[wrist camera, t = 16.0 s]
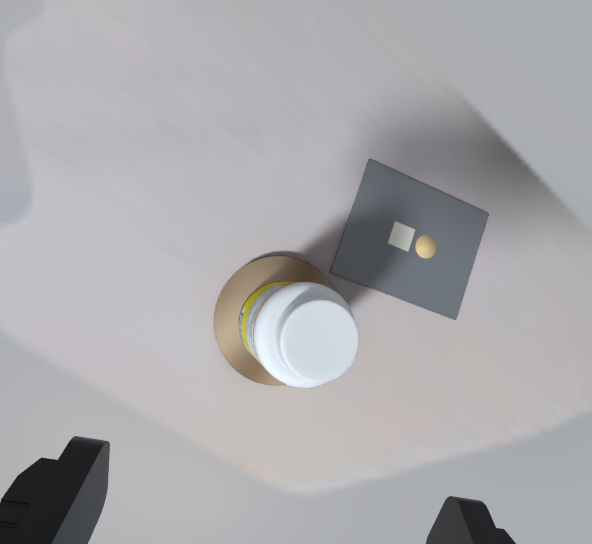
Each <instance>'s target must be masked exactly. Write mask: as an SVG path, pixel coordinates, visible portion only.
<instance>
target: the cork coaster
mask: <svg viewBox="0 0 592 544" xmlns="http://www.w3.org/2000/svg"><path fill="white" fill-rule="evenodd" d="M274 282H312V283H317V284H321V285H324V286H326V287H328V288H330V289H332V290H334V289H333V287H332V285H331V283H330V282H329V281H328V279H327V278H326V277H325V276H324V275H323V274H322V273H321V272H320V271H319V270H318V269H317V268H315V267H314V266H312V265H311V264H309V263H307V262H305V261H303V260H300V259H297V258H293V257H287V256H272V257H266V258H262V259H258V260H256V261H253V262H251V263H249V264H247V265H245V266H244V267H242V268H241V269H240V270H238V271H237V272H236V273H235V274H234V275H233V276H232V277H231V278H230V279H229V280H228V282H227V283H226V284H225V286H224V288H223V289H222V291H221V293H220V295H219V298H218V301H217V304H216V307H215V314H214V329H215V335H216V339H217V342H218V345H219V347H220V350H221V352H222V353H223V355H224V357H225V358H226V360H227V361H228V362H229V364H230V365H231V366H232V367H233V368H234V369H235V370H236V371H237V372H239V373H240V374H241V375H243V376H244V377H246V378H248V379H250V380H252V381H255V382H257V383H261V384H265V385H274V386H278V385H287V384H285V383H283V382H281V381H279V380H278V379H276V378H275V377H273V376H272V375H271V374H270V373H269V372H268V371H267V370H266V369H265V368H264V367H263V366H262V365H261V364H260V363H259V362H258V361H257V360H256V359H255V358H254V356H253V355H252V354H251V353H250V352H249V351H248V350H247V348H246V347H245V345H244V344H243V342H242V339H241V337H240V333H239V328H238V321H239V314H240V311H241V308H242V306H243V304H244V302H245V301H246V299H247V298H248V297H249V295H250V294H251V293H253V292H254V291H255V290H256V289H258V288H260V287H262V286H264V285H266V284H269V283H274ZM334 291H335V290H334Z"/></svg>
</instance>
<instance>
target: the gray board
mask: <svg viewBox="0 0 592 544" xmlns="http://www.w3.org/2000/svg"><path fill="white" fill-rule="evenodd" d="M488 216H489V214H488V213H486V212H484V211H482V210H479V209H477V208H475V207H473V206H471V205H468V204H466V203H464V202H462V201H460V200H458V199H455V198H453V197H451V196H449V195H447V194H444V193H442V192H440V191H438V190H436V189H434V188H431V187H429V186H427V185H425V184H423V183H421V182H418V181H416V180H414V179H412V178H410V177H407V176H405V175H403V174H401V173H399V172H397V171H394V170H392V169H390V168H388V167H386V166H383V165H381V164H379V163H377V162H375V161H373V160H370V159H369V160H368V163H367V166H366V169H365V172H364V175H363V178H362V181H361V184H360V187H359V190H358V193H357V195H356V198H355V201H354V204H353V207H352V210H351V213H350V216H349V219H348V222H347V225H346V228H345V230H344V233H343V236H342V239H341V242H340V245H339V248H338V251H337V254H336V257H335V260H334V263H333V265H332V268H331V271H330V272H331V273H333V274H336V275H339V276H341V277H344V278H347V279H349V280H352V281H354V282H357V283H360V284H362V285H365V286H367V287H370V288H373V289H375V290H378V291H380V292H383V293H386V294H388V295H391V296H393V297H396V298H399V299H401V300H404V301H406V302H409V303H412V304H414V305H417V306H420V307H422V308H425V309H427V310H430V311H433V312H435V313H438V314H440V315H443V316H446V317H448V318H451V319H453V320H456V318H457V315H458V312H459V309H460V306H461V302H462V299H463V296H464V293H465V290H466V286H467V283H468V280H469V277H470V273H471V270H472V267H473V264H474V261H475V257H476V254H477V251H478V248H479V245H480V241H481V238H482V235H483V232H484V228H485V225H486V222H487V219H488Z"/></svg>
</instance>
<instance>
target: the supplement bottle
mask: <svg viewBox="0 0 592 544" xmlns="http://www.w3.org/2000/svg"><path fill="white" fill-rule="evenodd" d="M238 328H239V333H240V337H241V339H242V342H243V344H244V345H245V347H246V348H247V350H248V351H249V352H250V353H251V354H252V355H253V356H254V358H255V359H256V360H257V361H258V362H259V363H260V364H261V365H262V366H263V367H264V368H265V369H266V370H267V371H268V372H269V373H270V374H271V375H272V376H273V377H275V378H276V379H278V380H279V381H281V382H283V383H285V384H287V385H290V386H295V387H304V388H306V387H315V386H319V385H322V384H324V383H326V382H328V381H330V380H332V379H335V378H337V377H338V376H340V375H342V374H343V373H344V372H345V371H346V370H347V369H348V368H349V367H350V366H351V364H352V363H353V361H354V360H355V357H356V355H357V352H358V348H359V331H358V327H357V324H356V322H355V319H354V316H353V314H352V311H351V309H350V307H349V306H348V304H347V303H346V301H345V300H344V299H343V298H342V297H341V296H340V295H339V294H338V293H336V292H335V291H334V290H332V289H330V288H328V287H326V286H324V285H321V284H317V283H312V282H274V283H269V284H266V285H264V286H262V287H260V288H258V289H256V290H255V291H254V292H253V293H251V294H250V295H249V297H248V298H247V299H246V301H245V302H244V304H243V306H242V308H241V311H240V314H239V321H238Z"/></svg>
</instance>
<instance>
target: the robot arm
mask: <svg viewBox="0 0 592 544" xmlns="http://www.w3.org/2000/svg"><path fill="white" fill-rule="evenodd" d="M109 451H110V444H109V442H108V441H103V440H97V439H91V438H84V437H78V436H75V437H73V438H72V439H71V440H70V442H69V443H68V445H67V446H66V448H65V449H64V451H63V453H62V454H61V456H60V457H59V459H58V460H54V459H47V458H40V459H39V460H38V461H36V462H35V463H34V464H32V465H31V466H30V467H29V468H27V469H26V470H25V471H23V472H22V473H21V474H20V475H18V476H17V478H16V479H15V480H14V482H13V483H12V485H11V486H10V488H9V489H8V490H7V492H6V493H5V495H4V496H3V498H2V499H1V503H0V544H88V541H89V539H90V537H91V535H92V533H93V531H94V528H95V526H96V524H97V522H98V519H99V517H100V514H101V512H102V509H103V506H104V502H105V499H106V494H107V488H108V487H107V486H108V471H109ZM426 544H516V543H515V542H514V541H513V540H512V538H511V537H510V536H509V535H508V534H507V532H506V531H505V530H504V529H499V528H496V527H495V524H494V522H493V520H492V518H491V515H490V513H489V511H488V509H487V507H486V505H485V504H484V503H483V502H481V501H478V500H471V499H465V498H459V497H453V496H450V497H448V498H447V499H446V500H445V502H444V504H443V507H442V508H441V510H440V513H439V514H438V517H437V519H436V521H435V523H434V525H433V527H432V529H431V531H430V533H429V535H428V537H427V541H426Z"/></svg>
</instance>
